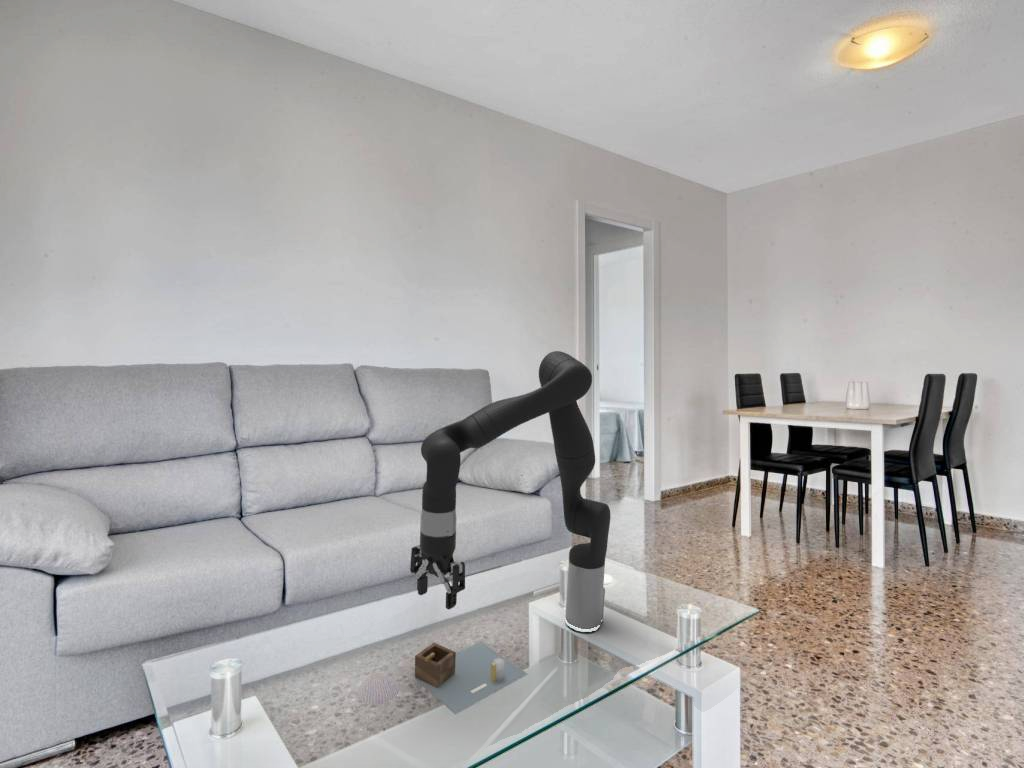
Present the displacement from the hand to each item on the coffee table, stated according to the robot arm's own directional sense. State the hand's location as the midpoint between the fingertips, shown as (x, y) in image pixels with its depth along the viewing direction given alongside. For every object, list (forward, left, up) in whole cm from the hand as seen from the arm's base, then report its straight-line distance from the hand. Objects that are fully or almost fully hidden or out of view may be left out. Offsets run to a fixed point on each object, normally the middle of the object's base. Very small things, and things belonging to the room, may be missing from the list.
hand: (436, 600), depth 126 cm
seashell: (+12, -3, -19) cm, 23 cm away
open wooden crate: (0, 0, -17) cm, 17 cm away
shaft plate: (-6, +5, -18) cm, 20 cm away
